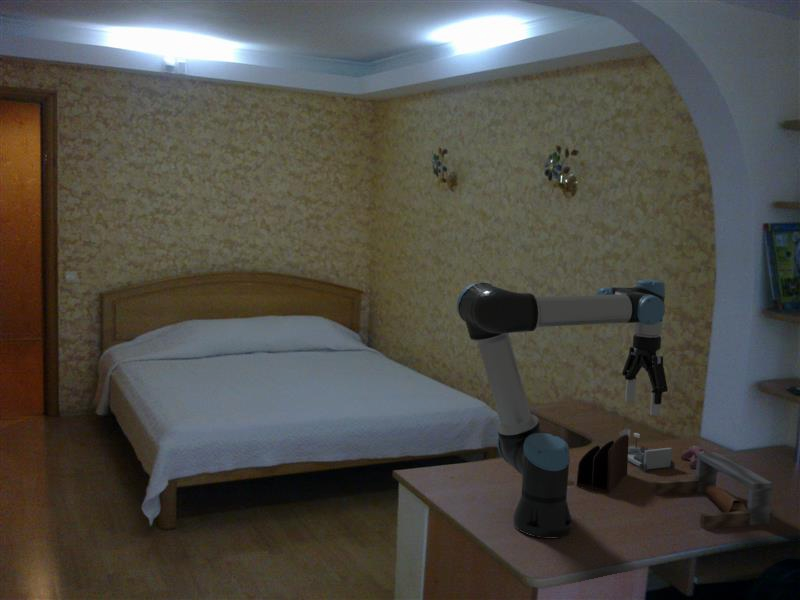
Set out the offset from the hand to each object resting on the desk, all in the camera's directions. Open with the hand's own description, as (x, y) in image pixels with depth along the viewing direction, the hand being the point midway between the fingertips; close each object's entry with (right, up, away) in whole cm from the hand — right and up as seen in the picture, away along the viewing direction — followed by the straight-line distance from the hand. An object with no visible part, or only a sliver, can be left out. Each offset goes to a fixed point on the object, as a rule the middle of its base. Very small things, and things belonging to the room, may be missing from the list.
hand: (641, 408), depth 222 cm
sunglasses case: (+24, -29, -1) cm, 38 cm away
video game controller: (+28, -23, +34) cm, 50 cm away
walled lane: (+18, -28, -2) cm, 33 cm away
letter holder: (-7, -25, +17) cm, 31 cm away
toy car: (+11, -23, +35) cm, 43 cm away
